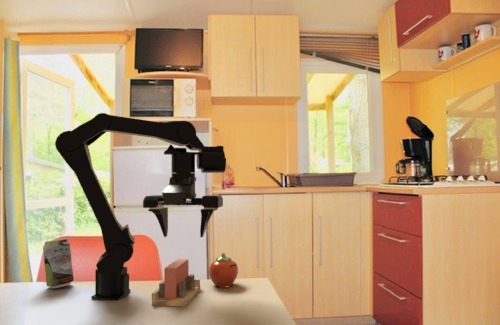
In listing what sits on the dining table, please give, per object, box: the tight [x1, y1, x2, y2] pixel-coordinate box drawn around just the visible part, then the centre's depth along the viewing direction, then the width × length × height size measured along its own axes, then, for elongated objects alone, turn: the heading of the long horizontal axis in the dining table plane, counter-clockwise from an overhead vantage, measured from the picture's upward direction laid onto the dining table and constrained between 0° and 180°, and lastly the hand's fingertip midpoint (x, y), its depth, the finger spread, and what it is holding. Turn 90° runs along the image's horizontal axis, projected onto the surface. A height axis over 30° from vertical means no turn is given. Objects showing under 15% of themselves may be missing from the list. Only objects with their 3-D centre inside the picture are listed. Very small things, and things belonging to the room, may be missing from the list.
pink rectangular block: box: [163, 258, 190, 299], centre depth 85 cm, size 9×2×6 cm, turn 172°
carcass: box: [151, 273, 201, 307], centre depth 85 cm, size 7×12×4 cm, turn 172°
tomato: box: [208, 252, 239, 288], centre depth 93 cm, size 7×7×8 cm
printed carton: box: [42, 237, 74, 289], centre depth 93 cm, size 6×7×12 cm
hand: (183, 236), depth 91 cm, fingers open, 9 cm apart
